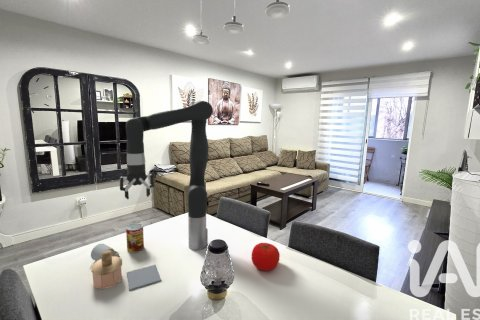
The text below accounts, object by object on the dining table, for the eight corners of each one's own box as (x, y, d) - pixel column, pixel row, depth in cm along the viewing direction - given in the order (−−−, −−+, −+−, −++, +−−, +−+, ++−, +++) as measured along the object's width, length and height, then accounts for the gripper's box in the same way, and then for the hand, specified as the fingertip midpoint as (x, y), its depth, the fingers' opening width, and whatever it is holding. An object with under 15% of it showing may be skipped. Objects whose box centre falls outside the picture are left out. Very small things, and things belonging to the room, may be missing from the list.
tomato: (253, 256, 118) (254, 236, 116) (279, 259, 115) (280, 239, 114) (248, 273, 104) (249, 251, 102) (278, 278, 101) (279, 255, 100)
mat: (155, 265, 108) (155, 264, 108) (161, 281, 98) (161, 279, 98) (126, 273, 102) (126, 272, 102) (129, 290, 92) (129, 289, 92)
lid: (121, 256, 104) (120, 243, 103) (123, 270, 95) (122, 255, 94) (91, 263, 99) (90, 249, 98) (90, 278, 89) (89, 263, 88)
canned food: (133, 254, 117) (132, 231, 115) (124, 249, 121) (122, 227, 119) (147, 247, 123) (146, 225, 121) (137, 243, 127) (136, 222, 126)
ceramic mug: (102, 268, 105) (101, 252, 104) (90, 263, 109) (89, 247, 108) (123, 256, 115) (122, 241, 114) (112, 252, 118) (111, 238, 117)
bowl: (120, 269, 104) (119, 257, 104) (122, 283, 96) (121, 269, 95) (94, 276, 99) (93, 263, 99) (93, 291, 91) (92, 277, 90)
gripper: (151, 160, 114) (152, 193, 116) (118, 162, 106) (120, 197, 109) (154, 163, 107) (155, 197, 110) (119, 165, 100) (121, 202, 103)
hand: (137, 197), depth 109 cm, fingers open, 8 cm apart
